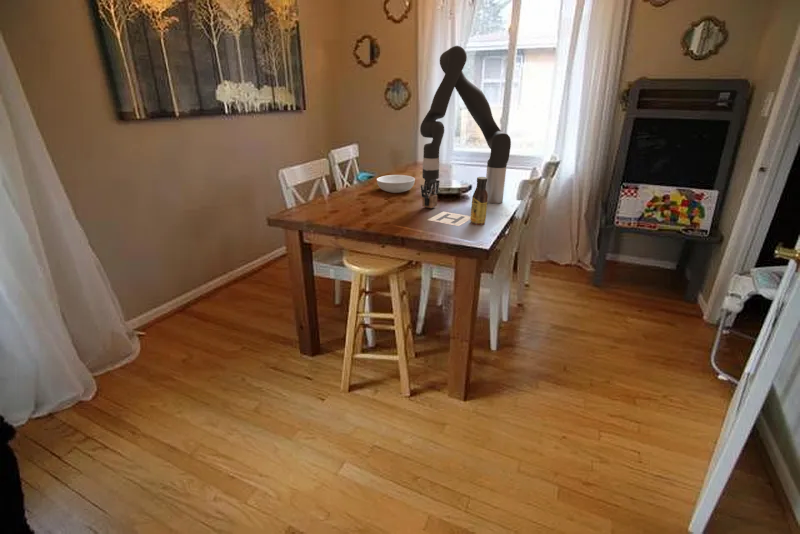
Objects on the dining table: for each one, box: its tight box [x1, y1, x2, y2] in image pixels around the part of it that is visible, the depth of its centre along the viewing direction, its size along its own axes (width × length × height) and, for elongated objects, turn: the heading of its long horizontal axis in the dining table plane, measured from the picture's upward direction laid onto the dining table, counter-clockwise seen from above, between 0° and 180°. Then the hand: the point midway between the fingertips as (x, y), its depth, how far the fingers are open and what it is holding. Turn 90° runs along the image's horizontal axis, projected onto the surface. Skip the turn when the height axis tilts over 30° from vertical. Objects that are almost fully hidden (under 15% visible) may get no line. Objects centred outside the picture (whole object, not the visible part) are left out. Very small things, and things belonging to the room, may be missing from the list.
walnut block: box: [421, 194, 438, 209], centre depth 186 cm, size 5×5×5 cm
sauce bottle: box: [469, 176, 488, 227], centre depth 163 cm, size 6×6×20 cm
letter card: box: [427, 210, 471, 227], centre depth 173 cm, size 15×15×1 cm
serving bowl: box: [376, 174, 416, 194], centre depth 219 cm, size 21×21×7 cm
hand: (429, 204), depth 187 cm, fingers closed on walnut block, 5 cm apart
